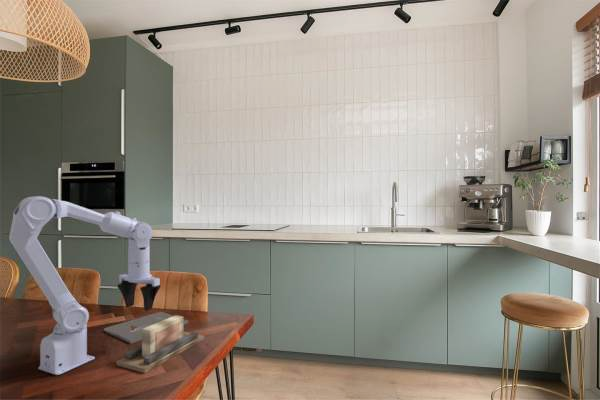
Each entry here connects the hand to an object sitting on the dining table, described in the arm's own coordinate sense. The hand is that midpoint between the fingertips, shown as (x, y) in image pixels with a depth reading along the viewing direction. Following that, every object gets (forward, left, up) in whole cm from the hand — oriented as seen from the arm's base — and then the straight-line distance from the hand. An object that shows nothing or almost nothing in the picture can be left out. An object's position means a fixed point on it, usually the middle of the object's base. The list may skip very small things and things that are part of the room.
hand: (139, 307), depth 99 cm
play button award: (+10, +8, -11) cm, 17 cm away
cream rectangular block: (-1, -11, -9) cm, 14 cm away
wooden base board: (-1, -11, -10) cm, 15 cm away
